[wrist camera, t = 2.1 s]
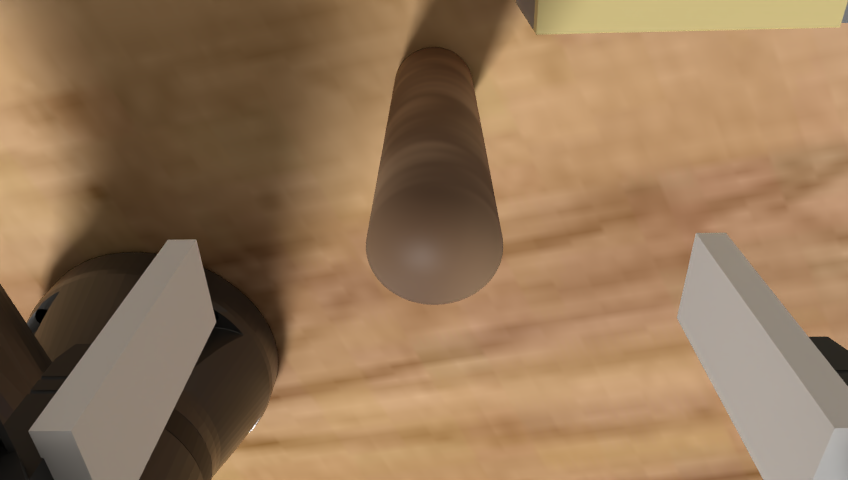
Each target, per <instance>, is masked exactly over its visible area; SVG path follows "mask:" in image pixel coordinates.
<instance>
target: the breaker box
mask: <svg viewBox="0 0 848 480" xmlns="http://www.w3.org/2000/svg"><path fill="white" fill-rule="evenodd" d="M516 3H517V5H518V7H519V8H520V10H521V11H522V13H523V14H524V16H525V18H526V19H527V21H528V22H529V24H530V25H531V27H532V29H533V30H534V32H535V33H536V35H537V34H580V33H623V32H667V31H710V30H753V29H796V28H839V27H840V26H841V23H848V0H516Z"/></svg>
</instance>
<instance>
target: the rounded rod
mask: <svg viewBox="0 0 848 480" xmlns="http://www.w3.org/2000/svg"><path fill="white" fill-rule="evenodd" d="M366 252H367V258H368V261H369V265H370V267H371V269H372V271H373V273H374V274H375V276H376V277H377V279H378V280H379V281H380V282H381V283H382V284H383V285H384V286H385V287H386V288H387V289H389V290H390V291H391V292H393V293H394V294H396V295H398V296H400V297H402V298H404V299H407V300H409V301H413V302H416V303H421V304H431V305H438V304H448V303H453V302H456V301H460V300H462V299H465V298H467V297H469V296H471V295H473V294H475V293H476V292H478V291H479V290H480V289H482V288H483V287H484V286H485V285H486V284H487V283H488V282H489V281H490V280H491V279H492V277H493V276H494V274H495V273H496V271H497V269H498V267H499V265H500V262H501V258H502V254H503V238H502V233H501V228H500V222H499V217H498V212H497V207H496V201H495V196H494V191H493V186H492V180H491V175H490V170H489V165H488V159H487V154H486V149H485V144H484V138H483V133H482V128H481V122H480V117H479V112H478V107H477V101H476V96H475V91H474V86H473V80H472V76H471V73H470V70H469V68H468V66H467V65H466V63H465V62H464V61H463V60H462V58H460V57H459V56H458V55H457V54H455V53H454V52H452V51H450V50H447V49H444V48H439V47H429V48H424V49H421V50H418V51H416V52H414V53H412V54H411V55H410V56H408V57H407V58H406V59H405V60H404V62H403V63H402V64H401V66H400V67H399V69H398V71H397V74H396V78H395V83H394V89H393V94H392V100H391V105H390V111H389V116H388V122H387V128H386V133H385V139H384V144H383V150H382V155H381V161H380V166H379V172H378V178H377V183H376V189H375V194H374V200H373V205H372V211H371V216H370V222H369V228H368V233H367V240H366Z"/></svg>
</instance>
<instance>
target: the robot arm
mask: <svg viewBox="0 0 848 480" xmlns="http://www.w3.org/2000/svg"><path fill="white" fill-rule="evenodd" d="M677 319H678V321H679V323H680V325H681V326H682V328H683V330H684V332H685V334H686V336H687V338H688V340H689V341H690V343H691V345H692V347H693V349H694V351H695V353H696V355H697V356H698V358H699V360H700V362H701V364H702V366H703V368H704V369H705V371H706V373H707V375H708V377H709V379H710V381H711V383H712V384H713V386H714V388H715V390H716V392H717V394H718V396H719V398H720V399H721V401H722V403H723V405H724V407H725V409H726V411H727V412H728V414H729V416H730V418H731V420H732V422H733V424H734V426H735V427H736V429H737V431H738V433H739V435H740V437H741V439H742V441H743V442H744V444H745V446H746V448H747V450H748V452H749V454H750V456H751V457H752V459H753V461H754V463H755V465H756V467H757V469H758V470H759V472H760V474H761V476H762V478H763V480H848V350H846V349H845V348H843V347H842V346H841V345H839V344H838V343H836V342H835V341H833V340H832V339H830V338H829V337H808V336H807V334H806V333H805V332H804V331H803V329H802V328H801V327H800V326H799V324H798V323H797V322H796V321H795V319H794V318H793V317H792V316H791V314H790V313H789V312H788V311H787V309H786V308H785V307H784V305H783V304H782V303H781V302H780V300H779V299H778V298H777V297H776V295H775V294H774V293H773V292H772V290H771V289H770V288H769V287H768V285H767V284H766V283H765V282H764V280H763V279H762V278H761V277H760V275H759V274H758V273H757V272H756V270H755V269H754V268H753V266H752V265H751V264H750V263H749V261H748V260H747V259H746V258H745V256H744V255H743V254H742V253H741V251H740V250H739V249H738V248H737V246H736V245H735V244H734V243H733V241H732V240H731V239H730V238H729V236H728V235H727V234H726V233H696V235H695V239H694V244H693V248H692V253H691V257H690V262H689V266H688V271H687V275H686V280H685V284H684V289H683V293H682V298H681V302H680V307H679V311H678V316H677ZM277 372H278V353H277V348H276V343H275V340H274V337H273V335H272V332H271V330H270V328H269V326H268V324H267V322H266V321H265V319H264V318H263V316H262V315H261V313H260V312H259V311H258V309H257V308H256V307H255V306H254V304H253V303H252V302H251V301H250V300H249V299H248V298H247V297H246V296H245V295H244V294H243V293H241V292H240V291H239V290H238V289H237V288H235V287H234V286H233V285H232V284H230V283H229V282H227V281H226V280H224V279H223V278H221V277H219V276H218V275H216V274H214V273H212V272H210V271H209V270H207V269H204V268H203V265H202V261H201V256H200V252H199V248H198V244H197V240H196V239H183V240H167V242H166V243H165V244H164V246H163V247H162V249H161V250H160V251H159V253H158V254H152V253H141V252H129V253H116V254H110V255H104V256H101V257H97V258H94V259H91V260H88V261H86V262H84V263H81V264H80V265H78V266H76V267H74V268H73V269H71V270H70V271H68V272H67V273H66V274H64V275H63V276H62V277H61V278H60V279H59V280H58V281H57V282H56V283H55V284H54V285H53V287H52V288H51V289H50V290H49V291H48V292H47V293H46V294H45V295H44V296H43V298H42V299H41V300H40V301H39V302H38V304H37V305H36V307H35V308H34V310H33V311H32V313H31V315H30V317H29V319H28V321H27V323H26V322H25V320H24V319H23V317H22V316H21V314H20V313H19V311H18V310H17V308H16V307H15V305H14V304H13V302H12V301H11V299H10V298H9V296H8V295H7V293H6V292H5V290H4V289H3V287H2V286H1V284H0V480H211V479H212V477H213V476H214V475H215V473H216V472H217V471H218V470H219V469H220V467H221V466H222V465H223V464H224V463H225V462H226V460H227V459H228V458H229V457H230V456H231V454H232V453H233V452H234V451H235V450H236V448H237V447H238V446H239V445H240V443H241V442H242V441H243V440H244V438H245V437H246V436H247V434H248V433H249V432H250V431H251V430H252V429H253V428H254V427H255V426H256V424H257V423H258V422H259V420H260V419H261V417H262V416H263V414H264V412H265V410H266V408H267V406H268V403H269V400H270V397H271V394H272V391H273V387H274V384H275V381H276V377H277Z"/></svg>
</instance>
